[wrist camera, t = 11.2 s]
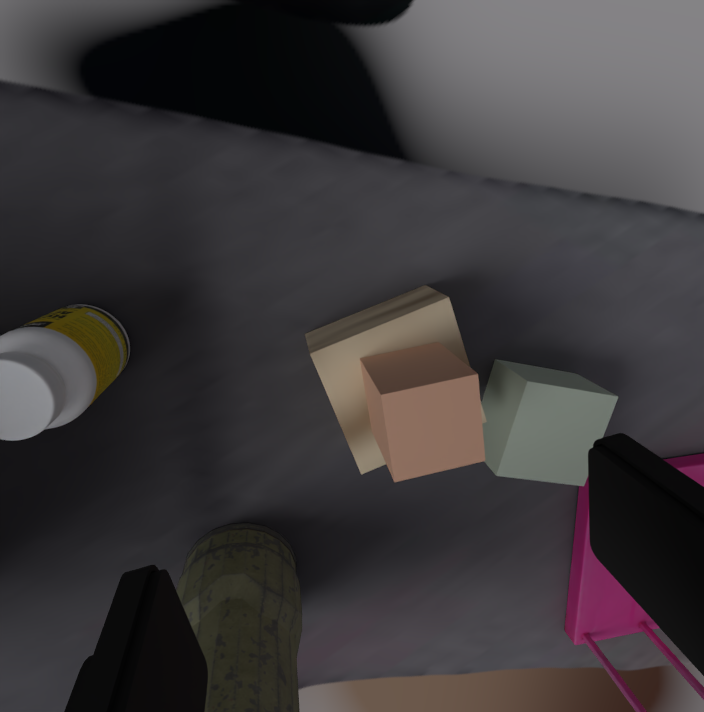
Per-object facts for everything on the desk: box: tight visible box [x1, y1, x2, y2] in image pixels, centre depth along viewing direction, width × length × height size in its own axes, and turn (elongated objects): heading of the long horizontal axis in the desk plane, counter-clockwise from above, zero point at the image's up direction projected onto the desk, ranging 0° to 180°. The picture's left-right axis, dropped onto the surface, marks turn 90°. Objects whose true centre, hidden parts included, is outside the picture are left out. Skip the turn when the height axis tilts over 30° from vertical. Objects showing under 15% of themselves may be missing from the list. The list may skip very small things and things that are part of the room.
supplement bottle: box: [0, 304, 130, 441], centre depth 26 cm, size 5×5×10 cm
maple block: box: [305, 285, 487, 474], centre depth 33 cm, size 9×9×5 cm
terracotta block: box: [360, 342, 485, 482], centre depth 27 cm, size 5×5×6 cm
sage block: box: [481, 359, 618, 486], centre depth 35 cm, size 7×7×5 cm
